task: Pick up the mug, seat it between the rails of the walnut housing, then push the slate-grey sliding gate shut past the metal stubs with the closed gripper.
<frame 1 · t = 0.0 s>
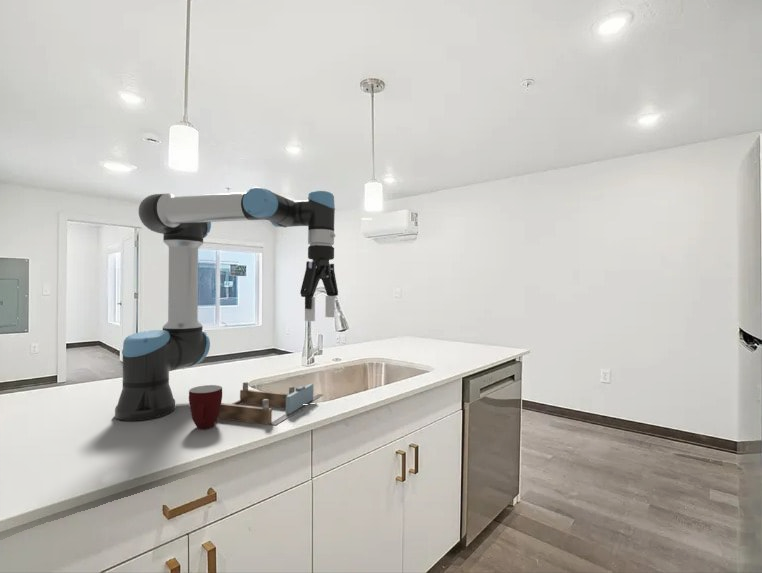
hand: (320, 319, 113), 28 cm above the countertop, fingers open, 13 cm apart
mug: (205, 428, 102), on the countertop
gate: (300, 396, 120), point 3 cm above the countertop, slide at 8.0 cm
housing: (252, 411, 115), on the countertop
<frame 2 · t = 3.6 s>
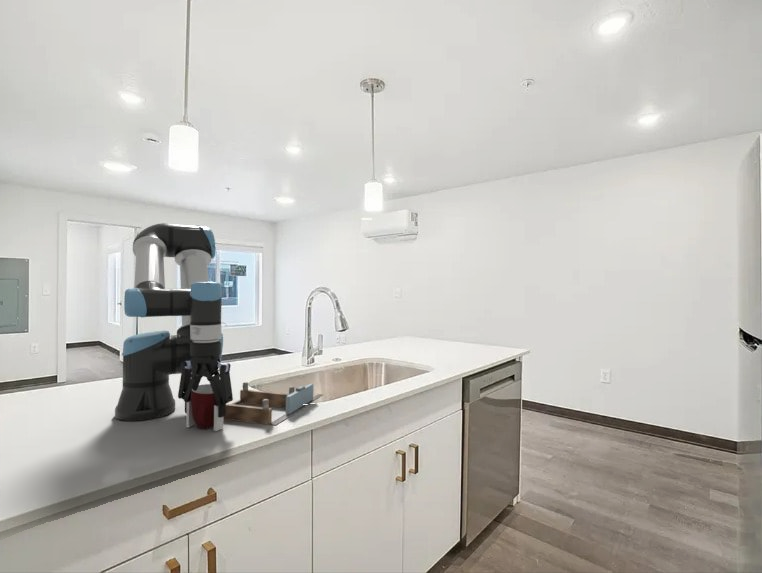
hand: (204, 427, 102), 0 cm above the countertop, fingers closed on mug, 8 cm apart
mug: (205, 428, 102), on the countertop, touching gripper
everything else where it was.
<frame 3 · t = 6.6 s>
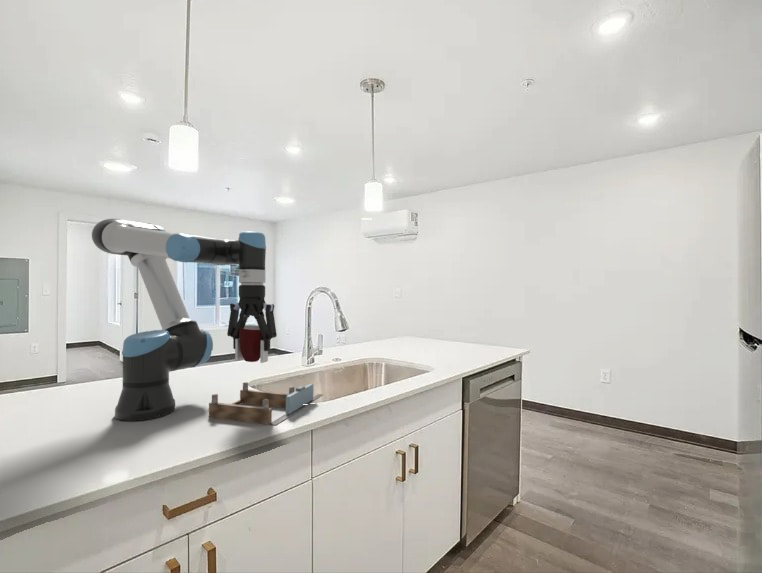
hand: (251, 361, 115), 15 cm above the countertop, fingers closed on mug, 8 cm apart
mug: (251, 362, 115), point 15 cm above the countertop, touching gripper
everything else where it was.
when the fingers open (1 cm above the countertop, at t = 9.4 s): mug drops 1 cm, on the countertop.
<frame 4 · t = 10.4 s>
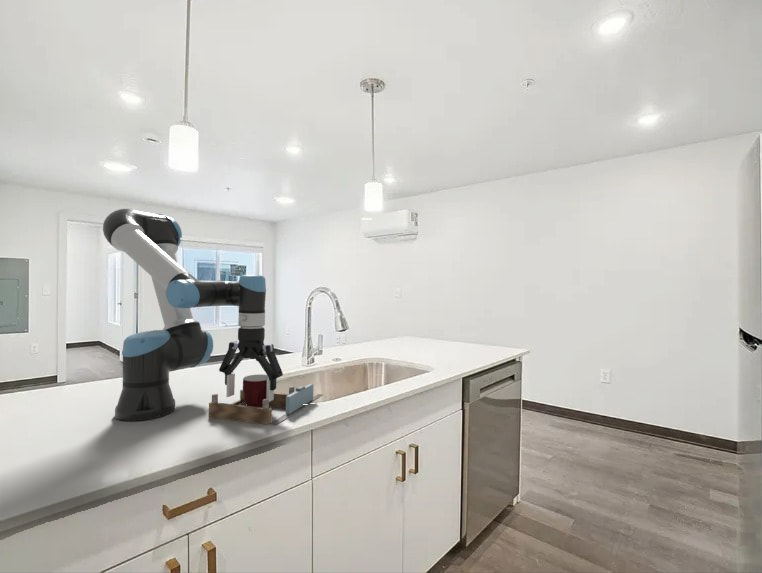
hand: (249, 398, 115), 4 cm above the countertop, fingers open, 13 cm apart
mug: (256, 413, 115), on the countertop
everything else where it was.
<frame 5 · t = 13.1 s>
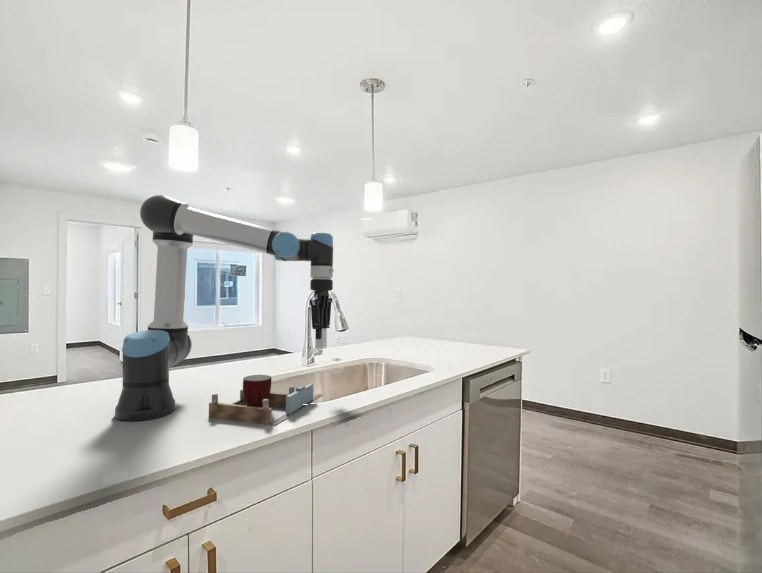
hand: (321, 347, 132), 16 cm above the countertop, fingers closed
nothing on the countertop moved.
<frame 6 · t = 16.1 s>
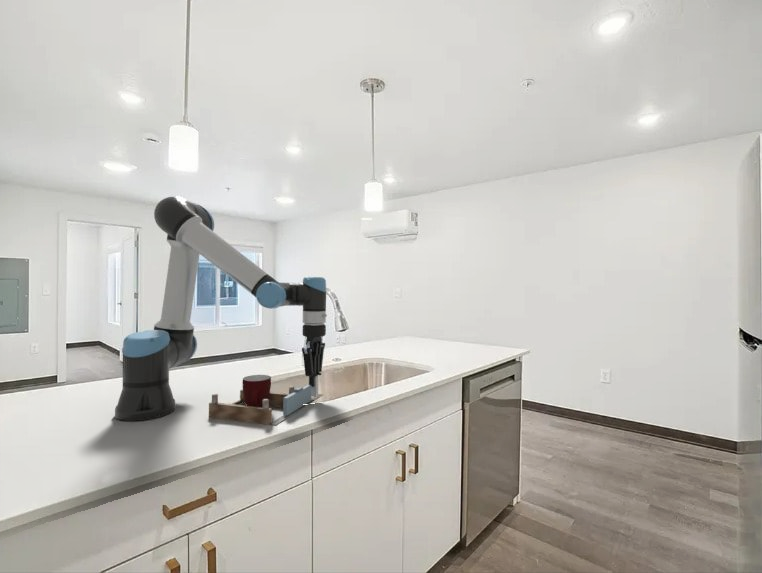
hand: (313, 395, 127), 1 cm above the countertop, fingers closed
gate: (298, 397, 118), point 3 cm above the countertop, slide at 6.6 cm, touching gripper
everything else where it was.
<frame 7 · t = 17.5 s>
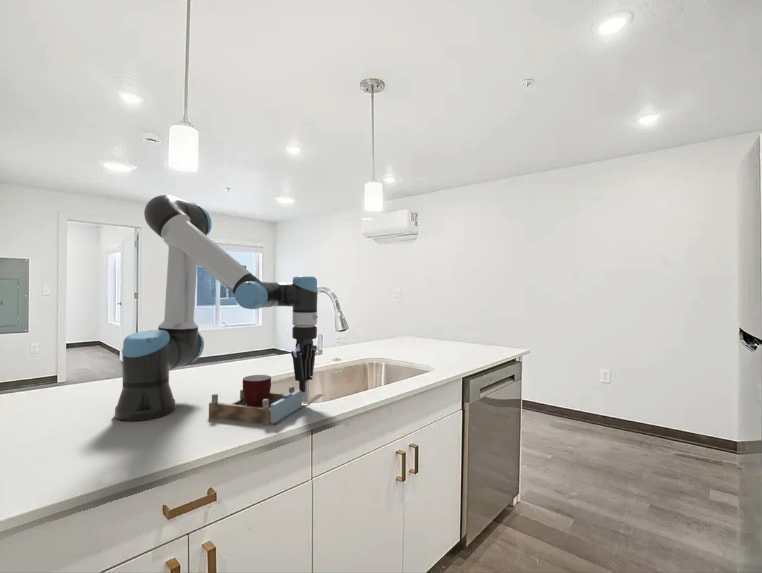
hand: (304, 401, 121), 2 cm above the countertop, fingers closed
gate: (287, 404, 112), point 3 cm above the countertop, slide at 0.0 cm, touching gripper
everything else where it was.
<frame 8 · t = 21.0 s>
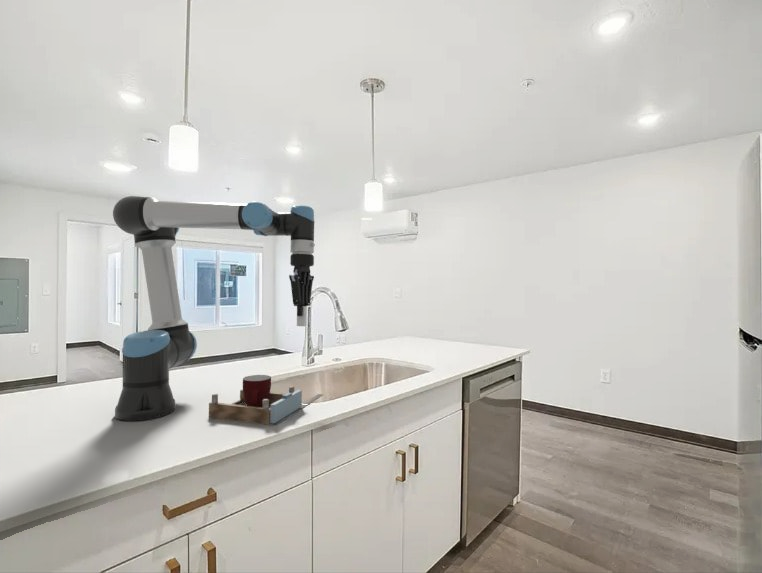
hand: (301, 325, 127), 24 cm above the countertop, fingers closed
gate: (287, 404, 112), point 3 cm above the countertop, slide at 0.0 cm
everything else where it was.
at the end: mug inside the target area on the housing (0.5 cm from its centre), point 0.0 cm above the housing's base; mug tilted 0°; gate slide at 0.0 cm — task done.
